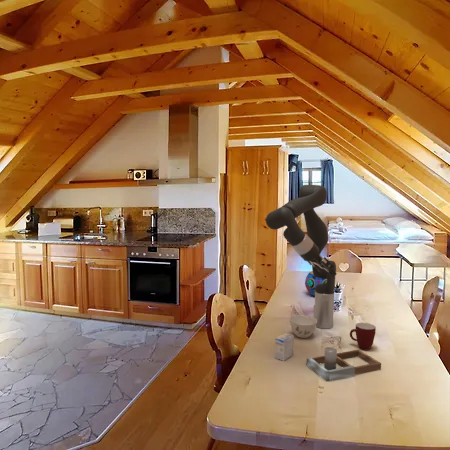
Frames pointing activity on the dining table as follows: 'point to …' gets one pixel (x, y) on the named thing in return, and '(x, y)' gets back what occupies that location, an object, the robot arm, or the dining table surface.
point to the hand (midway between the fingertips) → (328, 273)
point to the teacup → (303, 325)
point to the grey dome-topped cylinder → (330, 358)
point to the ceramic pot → (313, 282)
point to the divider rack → (343, 365)
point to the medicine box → (284, 346)
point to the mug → (364, 335)
